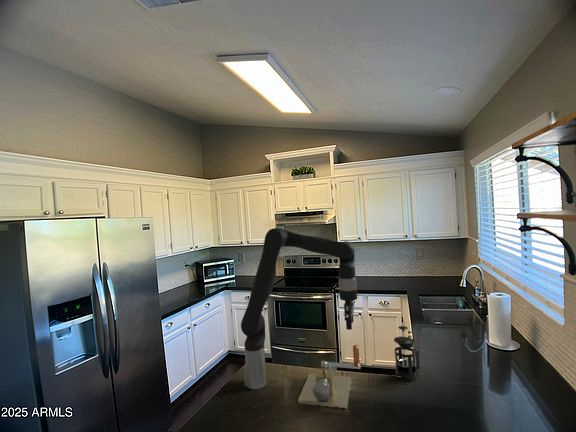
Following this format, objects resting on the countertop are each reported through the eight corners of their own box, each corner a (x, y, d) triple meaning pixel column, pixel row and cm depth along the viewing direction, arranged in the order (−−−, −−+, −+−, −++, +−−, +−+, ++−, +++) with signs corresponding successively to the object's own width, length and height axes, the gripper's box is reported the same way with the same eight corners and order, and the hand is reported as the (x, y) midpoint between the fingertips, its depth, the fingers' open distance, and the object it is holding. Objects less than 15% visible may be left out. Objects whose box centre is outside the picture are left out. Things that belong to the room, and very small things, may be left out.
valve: (298, 403, 126) (296, 375, 126) (309, 376, 147) (308, 352, 147) (346, 409, 120) (345, 379, 120) (351, 380, 141) (350, 355, 142)
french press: (400, 382, 137) (397, 331, 137) (390, 372, 146) (387, 324, 147) (424, 379, 139) (421, 329, 139) (413, 369, 148) (410, 322, 148)
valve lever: (320, 367, 131) (319, 345, 132) (321, 364, 134) (320, 342, 134) (360, 370, 127) (359, 347, 127) (360, 367, 129) (359, 345, 129)
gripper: (341, 284, 139) (343, 320, 138) (337, 291, 125) (339, 331, 125) (357, 284, 136) (359, 320, 136) (355, 292, 123) (358, 332, 122)
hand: (350, 325), depth 130 cm, fingers open, 8 cm apart
